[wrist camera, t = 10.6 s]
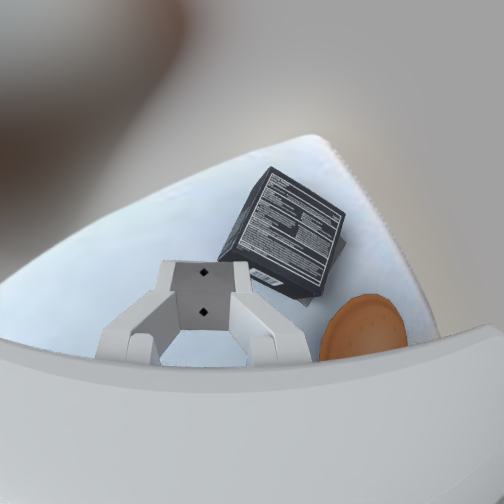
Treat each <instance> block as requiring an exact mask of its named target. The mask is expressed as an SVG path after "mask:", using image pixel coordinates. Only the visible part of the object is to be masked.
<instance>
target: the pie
mask: <svg viewBox="0 0 504 504" xmlns="http://www.w3.org/2000/svg"><path fill="white" fill-rule="evenodd" d="M403 347H408V344H407V335H406V331H405V327H404V323H403V320H402V318H401V316H400V314H399V313H398V311H397V309H396V308H395V307H394V305H393V304H392V303H391V302H390V300H389V299H386V298H384V297H382V296H380V295H378V294H364V295H361V296H358V297H355V298H352V299H351V300H350V301H349V302H348V303H346V304H345V305H344V306H343V307H342V308H340V310H339V311H338V312H337V313H336V314H335V316H334V317H333V318H332V319H331V320H330V322H329V324H328V326H327V329H326V331H325V333H324V336H323V338H322V342H321V349H320V355H319V361H327V360H335V359H342V358H349V357H356V356H362V355H368V354H373V353H379V352H384V351H389V350H394V349H399V348H403Z"/></svg>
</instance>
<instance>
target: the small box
mask: <svg viewBox="0 0 504 504" xmlns="http://www.w3.org/2000/svg"><path fill="white" fill-rule="evenodd" d="M345 216H346V214H345V213H344V212H343V211H341V210H340V209H338V208H337V207H335V206H334V205H332V204H331V203H329V202H328V201H326V200H325V199H323V198H322V197H320V196H319V195H317V194H315V193H314V192H312V191H311V190H309V189H308V188H306V187H305V186H303V185H301V184H300V183H298V182H296V181H295V180H293V179H291V178H290V177H288V176H287V175H285V174H283V173H282V172H280V171H278V170H277V169H275V168H273V167H272V166H271V167H269V168H268V170H267V171H266V172H265V173H264V174H263V176H262V177H261V178H260V179H259V181H258V182H257V183H256V185H255V186H254V187H253V189H252V191H251V193H250V195H249V197H248V199H247V201H246V203H245V205H244V207H243V209H242V211H241V213H240V215H239V217H238V219H237V221H236V223H235V225H234V227H233V229H232V231H231V233H230V235H229V237H228V239H227V241H226V243H225V245H224V247H223V249H222V252H221V254H220V255H219V257H218V259H217V261H218V262H244V261H247V262H248V265H249V272H250V278H252V279H254V280H256V281H258V282H260V283H262V284H264V285H266V286H268V287H270V288H272V289H274V290H276V291H278V292H280V293H282V294H284V295H286V296H288V297H290V298H292V299H304V298H311V297H320V296H322V294H323V289H324V285H325V282H326V279H327V276H328V273H329V269H330V266H331V263H332V260H333V256H334V253H335V250H336V246H337V243H338V239H339V236H340V232H341V228H342V225H343V222H344V219H345Z"/></svg>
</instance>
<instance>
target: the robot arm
mask: <svg viewBox="0 0 504 504" xmlns="http://www.w3.org/2000/svg"><path fill="white" fill-rule="evenodd" d="M180 330H221V331H229V333H230V334H231V335H232V337H233V338H234V339H235V341H236V342H237V343H238V344H239V346H240V347H241V348H242V350H243V351H244V352H245V353H246V355H247V356H248V357H247V364H246V367H177V366H161V363H160V359H159V358H160V357H161V355H162V354H163V353H164V351H165V350H166V349H167V348H168V346H169V345H170V344H171V343H172V341H173V340H174V339H175V337H176V336H177V335H178V334H179V332H180ZM0 504H504V332H503V331H502V330H500V329H499V328H498V327H496V326H494V325H492V324H484V325H481V326H478V327H475V328H472V329H469V330H466V331H463V332H460V333H457V334H454V335H450V336H447V337H443V338H439V339H436V340H432V341H428V342H424V343H420V344H416V345H412V346H408V347H403V348H399V349H394V350H389V351H384V352H379V353H373V354H368V355H362V356H356V357H349V358H342V359H335V360H327V361H319V362H312V358H311V355H310V351H309V348H308V345H307V341H306V338H305V335H304V332H303V331H301V330H300V329H299V328H298V327H297V326H295V325H294V324H293V323H292V322H291V321H290V320H288V319H287V318H286V317H285V316H284V315H283V314H281V313H280V312H279V311H278V310H277V309H276V308H275V307H273V306H272V305H271V304H270V303H269V302H268V301H266V300H265V299H264V298H263V297H262V296H261V295H260V294H258V293H257V292H253V290H252V284H251V278H250V272H249V265H248V262H247V261H244V262H203V261H179V260H177V261H176V260H163V261H162V262H161V265H160V269H159V273H158V276H157V280H156V285H155V289H154V291H149V292H148V293H146V294H145V295H144V296H143V297H141V298H140V299H139V300H138V301H136V302H135V303H134V304H133V305H132V306H130V307H129V308H128V309H127V310H126V311H124V312H123V313H122V314H121V315H119V316H118V317H117V318H116V319H115V320H113V321H112V322H111V323H110V324H109V325H107V326H106V327H105V328H104V329H103V332H102V335H101V338H100V342H99V345H98V348H97V352H96V355H95V359H94V358H87V357H81V356H75V355H70V354H64V353H59V352H54V351H50V350H45V349H41V348H36V347H32V346H28V345H24V344H20V343H17V342H13V341H10V340H6V339H3V338H0Z"/></svg>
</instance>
